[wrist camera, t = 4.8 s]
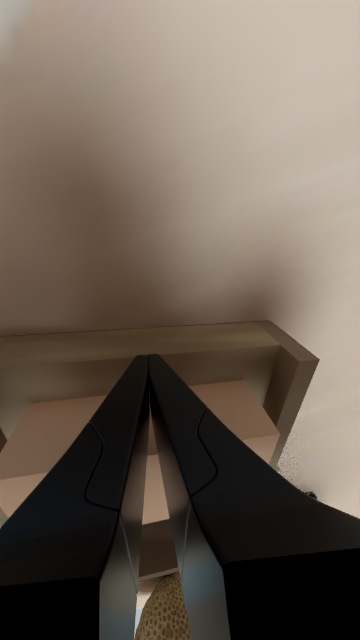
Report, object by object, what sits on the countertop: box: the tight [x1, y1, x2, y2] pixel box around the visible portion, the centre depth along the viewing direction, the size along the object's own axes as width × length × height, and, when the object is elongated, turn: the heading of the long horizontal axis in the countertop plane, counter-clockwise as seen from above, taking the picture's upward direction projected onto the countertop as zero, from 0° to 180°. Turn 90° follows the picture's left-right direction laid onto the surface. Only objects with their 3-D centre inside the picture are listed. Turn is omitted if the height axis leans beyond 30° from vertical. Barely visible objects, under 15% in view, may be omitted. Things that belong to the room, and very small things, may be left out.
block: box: [0, 380, 280, 525], centre depth 9 cm, size 5×10×3 cm, turn 88°
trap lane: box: [0, 321, 320, 582], centre depth 14 cm, size 22×15×4 cm
